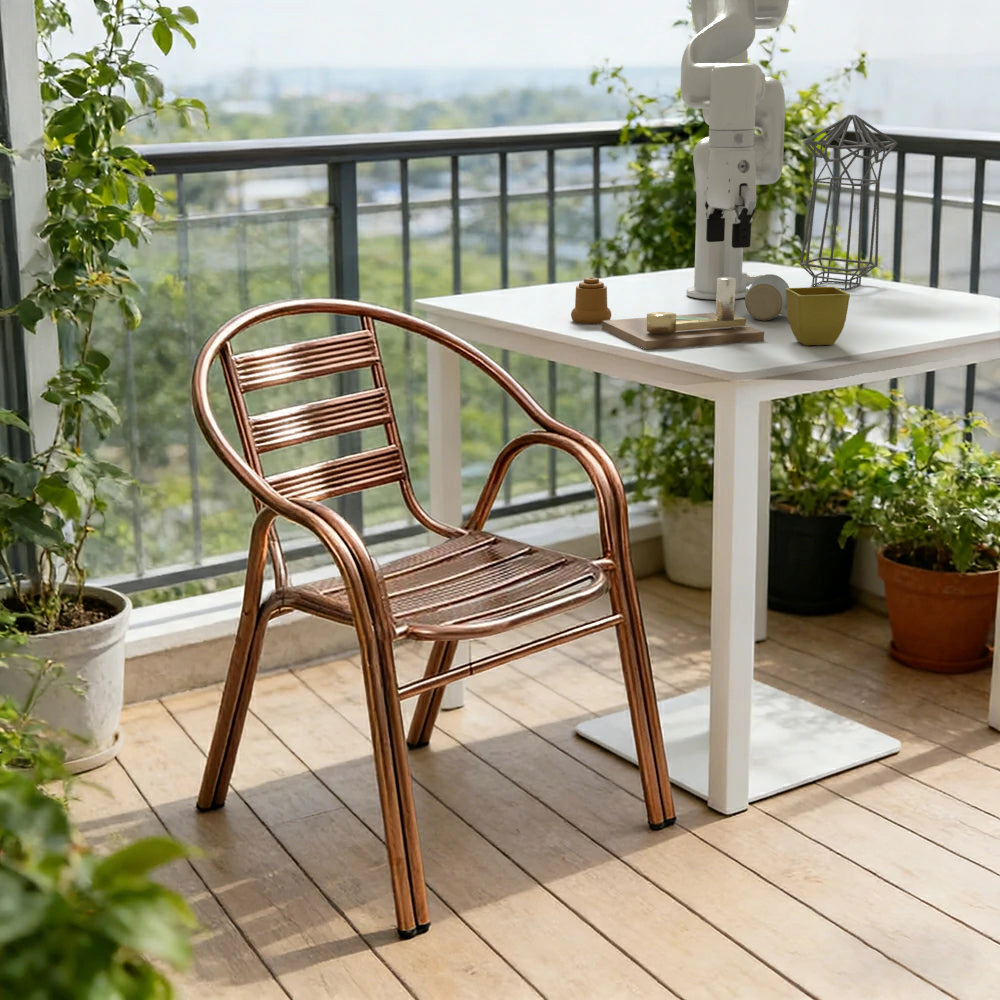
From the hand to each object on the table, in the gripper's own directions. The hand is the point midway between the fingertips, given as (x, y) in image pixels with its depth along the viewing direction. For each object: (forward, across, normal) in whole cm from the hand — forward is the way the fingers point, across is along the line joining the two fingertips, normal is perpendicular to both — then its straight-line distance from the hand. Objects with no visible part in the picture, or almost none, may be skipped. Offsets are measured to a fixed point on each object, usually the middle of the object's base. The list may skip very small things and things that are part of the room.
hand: (727, 244), depth 241 cm
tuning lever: (+14, +1, +5) cm, 15 cm away
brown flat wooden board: (+16, +6, +6) cm, 18 cm away
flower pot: (+16, -9, -12) cm, 23 cm away
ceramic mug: (+16, +14, -17) cm, 27 cm away
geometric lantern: (+15, +42, -47) cm, 65 cm away
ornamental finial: (+16, +24, +16) cm, 33 cm away
